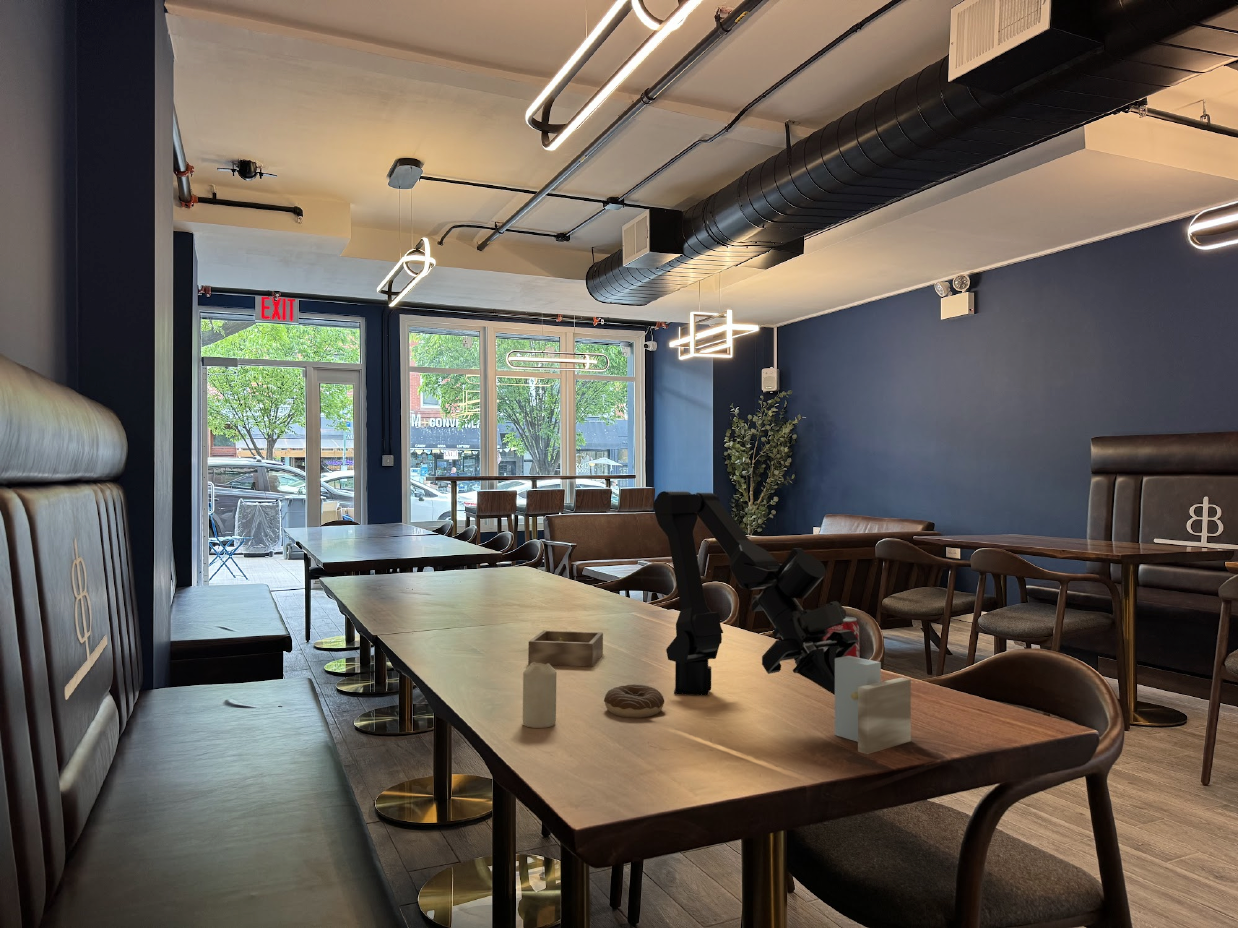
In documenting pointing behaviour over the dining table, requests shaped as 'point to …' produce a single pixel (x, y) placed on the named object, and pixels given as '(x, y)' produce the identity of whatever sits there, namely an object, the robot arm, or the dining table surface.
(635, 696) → the donut
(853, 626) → the soda can
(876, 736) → the beige bookend
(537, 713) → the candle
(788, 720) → the dining table surface
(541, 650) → the brown open rectangular box
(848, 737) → the light gray rectangular block
